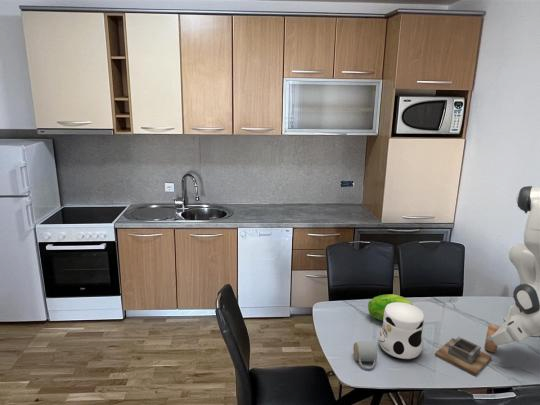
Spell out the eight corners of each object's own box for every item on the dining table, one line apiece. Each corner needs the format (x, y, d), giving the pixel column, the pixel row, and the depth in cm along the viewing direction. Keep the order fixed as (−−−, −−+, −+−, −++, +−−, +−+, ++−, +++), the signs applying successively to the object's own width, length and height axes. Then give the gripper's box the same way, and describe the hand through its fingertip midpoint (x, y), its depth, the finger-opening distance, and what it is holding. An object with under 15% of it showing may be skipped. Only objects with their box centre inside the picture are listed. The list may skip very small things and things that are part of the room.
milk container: (369, 342, 168) (373, 304, 163) (401, 334, 174) (406, 298, 170) (396, 367, 152) (401, 326, 148) (430, 358, 159) (436, 318, 154)
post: (486, 343, 167) (490, 323, 164) (498, 348, 164) (502, 327, 161) (482, 348, 164) (486, 327, 162) (494, 353, 161) (498, 332, 158)
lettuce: (418, 324, 183) (421, 301, 180) (373, 328, 178) (376, 305, 175) (403, 309, 195) (406, 288, 192) (361, 313, 190) (363, 292, 187)
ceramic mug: (351, 353, 160) (353, 337, 158) (371, 353, 160) (373, 337, 158) (358, 371, 150) (359, 354, 148) (379, 371, 150) (381, 354, 148)
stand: (452, 340, 171) (454, 329, 169) (491, 359, 159) (493, 347, 158) (434, 355, 160) (436, 344, 159) (475, 376, 149) (477, 364, 147)
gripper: (525, 308, 161) (495, 319, 171) (507, 327, 148) (476, 337, 157) (535, 323, 159) (505, 333, 169) (518, 343, 146) (486, 352, 155)
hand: (491, 335), depth 163 cm, fingers closed on post, 4 cm apart
